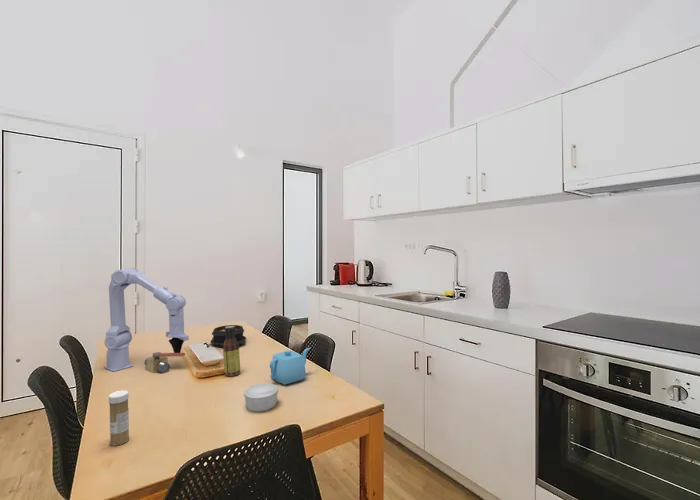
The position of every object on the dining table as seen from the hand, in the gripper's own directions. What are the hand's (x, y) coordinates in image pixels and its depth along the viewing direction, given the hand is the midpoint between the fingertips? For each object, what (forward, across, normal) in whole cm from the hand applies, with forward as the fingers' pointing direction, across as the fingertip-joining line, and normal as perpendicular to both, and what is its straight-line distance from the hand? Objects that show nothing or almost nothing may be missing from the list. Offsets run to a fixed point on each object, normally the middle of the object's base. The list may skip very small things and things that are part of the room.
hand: (177, 354), depth 153 cm
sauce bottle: (+6, +28, +7) cm, 29 cm away
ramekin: (+6, +59, -6) cm, 60 cm away
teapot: (+6, +52, +16) cm, 55 cm away
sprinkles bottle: (+6, +42, -41) cm, 59 cm away
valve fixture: (+6, -6, -6) cm, 10 cm away
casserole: (+6, -13, +36) cm, 39 cm away
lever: (0, -1, -3) cm, 4 cm away
